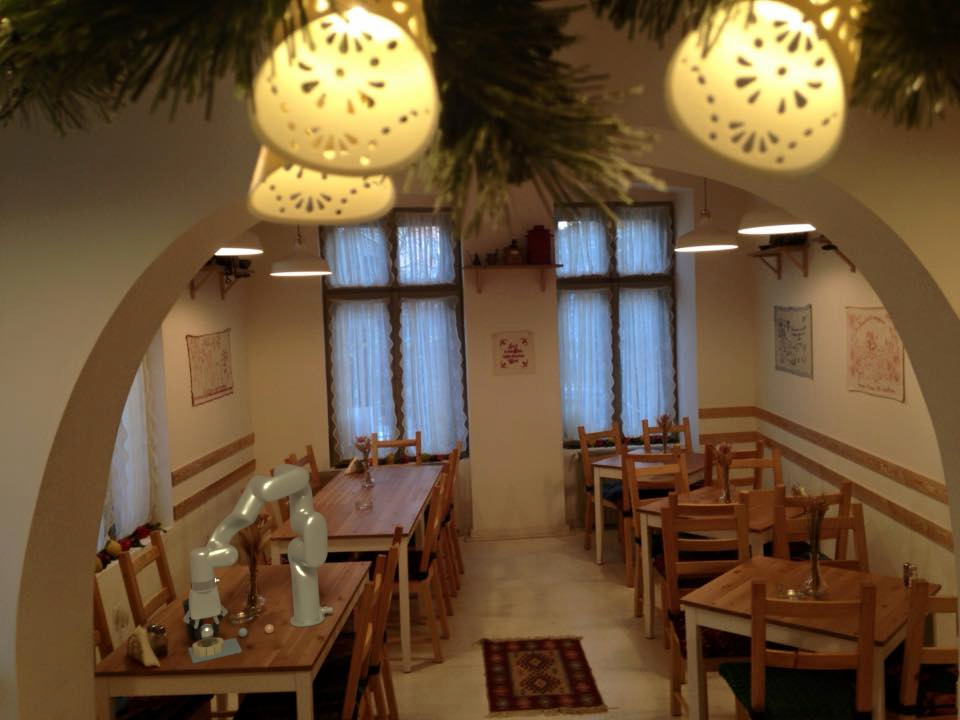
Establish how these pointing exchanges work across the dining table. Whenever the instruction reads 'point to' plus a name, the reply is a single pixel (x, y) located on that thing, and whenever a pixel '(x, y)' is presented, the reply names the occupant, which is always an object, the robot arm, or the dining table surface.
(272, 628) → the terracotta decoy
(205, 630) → the steel ball
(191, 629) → the drinking cup
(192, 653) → the bearing housing
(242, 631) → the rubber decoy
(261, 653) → the dining table surface
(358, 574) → the dining table surface
